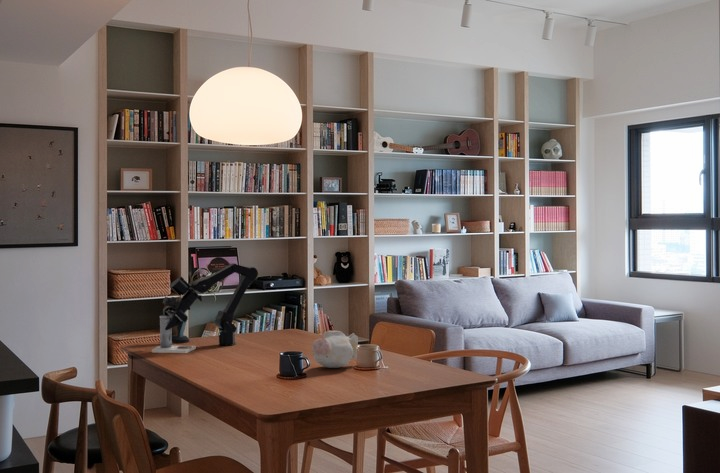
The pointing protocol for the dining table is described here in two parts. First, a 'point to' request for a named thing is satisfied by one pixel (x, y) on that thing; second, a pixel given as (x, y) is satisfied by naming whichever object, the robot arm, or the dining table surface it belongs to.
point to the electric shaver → (180, 333)
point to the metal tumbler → (165, 332)
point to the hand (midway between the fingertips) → (162, 328)
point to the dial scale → (174, 349)
